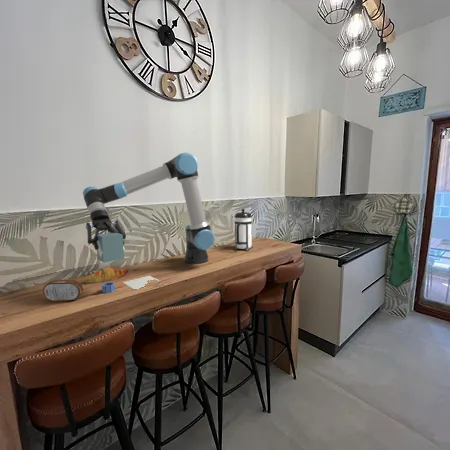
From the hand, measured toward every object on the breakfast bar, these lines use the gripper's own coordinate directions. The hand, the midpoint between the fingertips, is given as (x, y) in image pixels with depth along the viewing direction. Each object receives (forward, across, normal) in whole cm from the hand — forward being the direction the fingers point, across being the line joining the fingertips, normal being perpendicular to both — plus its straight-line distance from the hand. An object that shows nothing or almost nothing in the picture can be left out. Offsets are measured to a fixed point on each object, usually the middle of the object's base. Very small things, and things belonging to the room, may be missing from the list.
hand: (112, 253), depth 113 cm
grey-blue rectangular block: (0, 0, -5) cm, 5 cm away
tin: (+8, +19, -18) cm, 27 cm away
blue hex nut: (+11, +2, -14) cm, 18 cm away
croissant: (-2, -3, -28) cm, 28 cm away
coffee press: (0, -99, -24) cm, 102 cm away
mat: (+11, -14, -14) cm, 22 cm away
